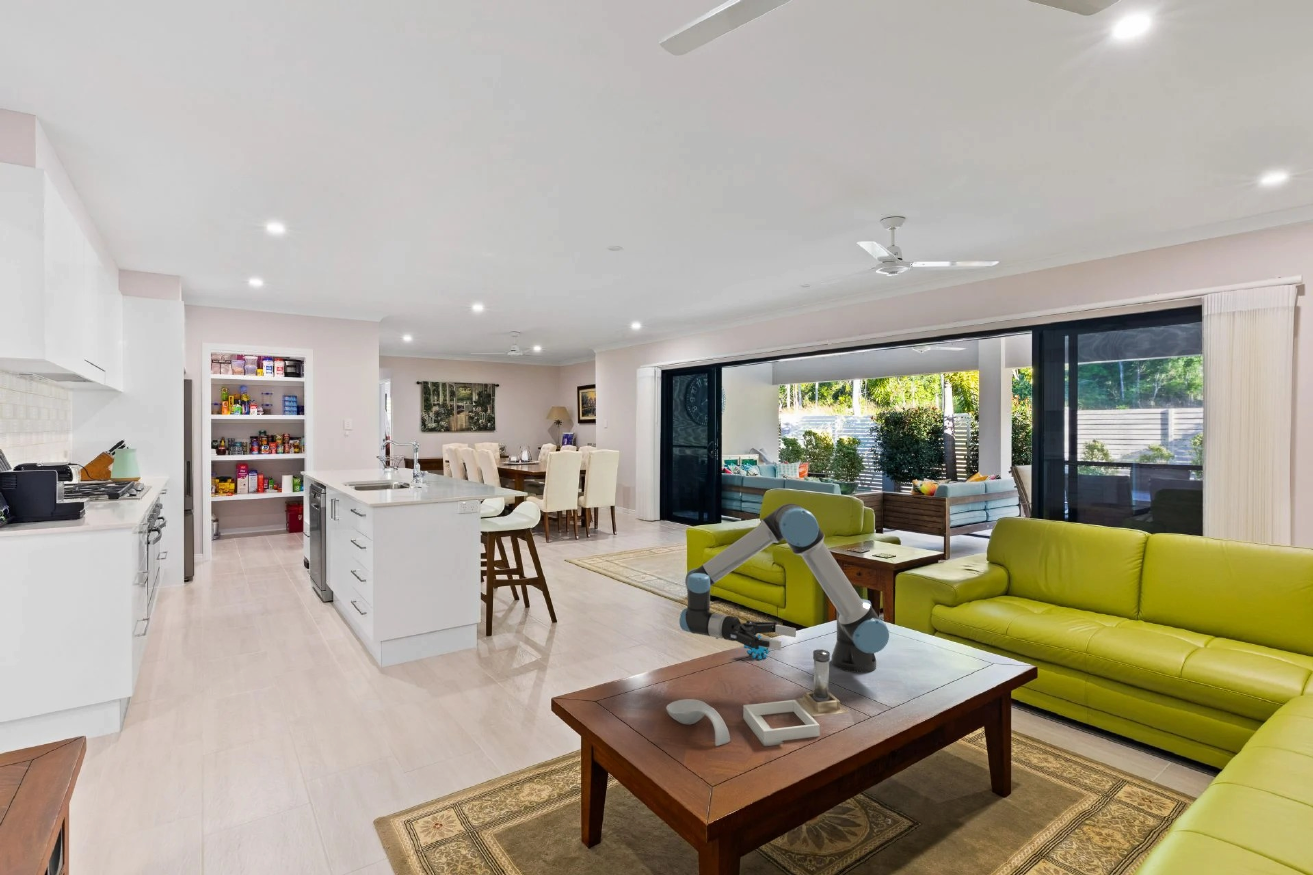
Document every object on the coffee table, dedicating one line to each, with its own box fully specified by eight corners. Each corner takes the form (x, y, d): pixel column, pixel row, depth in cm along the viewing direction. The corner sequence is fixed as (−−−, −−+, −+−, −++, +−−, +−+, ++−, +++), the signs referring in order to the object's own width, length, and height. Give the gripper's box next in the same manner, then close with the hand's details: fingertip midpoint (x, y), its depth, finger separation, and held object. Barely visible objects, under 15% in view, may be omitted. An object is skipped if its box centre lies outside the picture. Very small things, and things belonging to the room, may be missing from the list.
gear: (748, 657, 229) (742, 631, 236) (742, 665, 233) (736, 639, 240) (776, 658, 233) (768, 632, 240) (769, 665, 237) (762, 640, 243)
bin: (794, 712, 190) (794, 699, 190) (819, 739, 174) (819, 724, 174) (743, 718, 186) (743, 705, 186) (764, 746, 171) (764, 731, 171)
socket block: (830, 697, 200) (830, 686, 200) (849, 715, 188) (849, 703, 188) (794, 701, 197) (794, 690, 197) (811, 719, 186) (811, 707, 185)
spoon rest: (659, 716, 189) (658, 692, 189) (691, 706, 195) (691, 683, 195) (706, 751, 169) (706, 724, 169) (741, 739, 175) (741, 713, 175)
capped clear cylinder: (824, 700, 196) (825, 648, 195) (832, 707, 191) (832, 654, 190) (810, 702, 194) (810, 650, 194) (817, 709, 190) (817, 655, 189)
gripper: (740, 627, 219) (801, 639, 208) (708, 650, 197) (773, 664, 186) (740, 606, 219) (801, 616, 208) (708, 626, 197) (774, 638, 186)
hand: (788, 639), depth 197 cm, fingers open, 13 cm apart
